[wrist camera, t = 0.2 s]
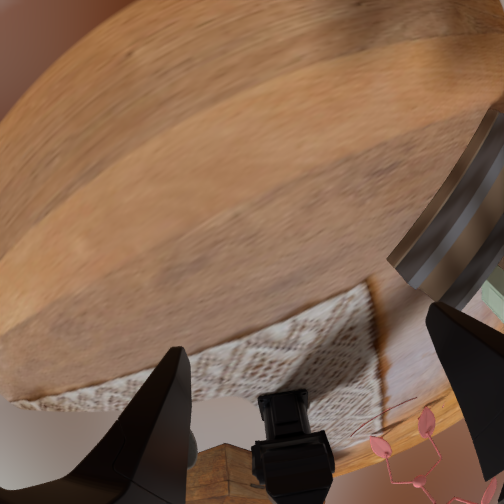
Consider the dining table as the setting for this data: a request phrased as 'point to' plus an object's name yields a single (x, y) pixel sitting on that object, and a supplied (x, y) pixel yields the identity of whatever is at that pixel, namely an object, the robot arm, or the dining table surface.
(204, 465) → the wooden box
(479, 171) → the door track
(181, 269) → the dining table surface
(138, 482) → the robot arm
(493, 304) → the sage green panelled box
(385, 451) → the pink leafy branch
